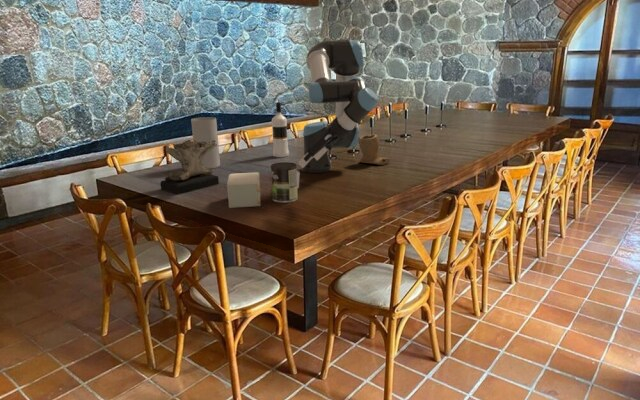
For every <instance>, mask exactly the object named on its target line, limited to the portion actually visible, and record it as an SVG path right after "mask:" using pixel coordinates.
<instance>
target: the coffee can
mask: <svg viewBox="0 0 640 400" xmlns="http://www.w3.org/2000/svg"><path fill="white" fill-rule="evenodd" d="M297 166H298V165H297V163H294V162H287V161H284V162H276V163H275V162H274V163H272V164H271V165H270V169H271V170H270V173H271V190H272V191H271V193H272V194H271V195H272V202H273V201H274V202H275V203H282V204H283V203H293V202H295V201H298V198H299V197H298V188H297V171H298V170H297Z"/></svg>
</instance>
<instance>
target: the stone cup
mask: <svg viewBox="0 0 640 400" xmlns="http://www.w3.org/2000/svg"><path fill="white" fill-rule="evenodd" d="M358 145H359V149H360V151H361V153H362V158H360V159H359V160H358V162H359V163H364V164H371V165H379V166H380V165H383V166H384V165H386V164H388V163H390V161H391V158H389V157H384V156H380V155H379V148H380V147H379V146H380V139H379V136H378V135H377V134H366V135H365V134H364V135H363V136H360V137H359V138H358Z"/></svg>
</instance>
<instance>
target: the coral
mask: <svg viewBox="0 0 640 400" xmlns="http://www.w3.org/2000/svg"><path fill="white" fill-rule="evenodd" d="M183 144H184V146H186V148H185V149H184V147H183ZM216 146H217V144H216V141H215V140H213V141H212V142H211V143H210V142H208V143H207V142H204V141H202V142H197V141H196V140H194V142H193V141H191V139H188V140H185V141H183V142H182V144H179V143H178V144H175V145H173V146H172V147H173V148H172V147H169V146H166V148H165V152H166V153H167V154H168V155H170V156H171V157H172V158H173V159H175V160H176V161H178V162H179V163H180V165H181V170H180V171H177V172H176V171H172V172H169V173H167V175H166V177H165V178H164V180H161V181H160V190H161V191H164V192H168V193H172V194H175V195H178V196H179V195H182V194H186V193H191V192H194V191H197V190H201V189H202V190H203V189H204V188H205V189H206V188H209V187H214V186H217V185H219V183H220V182H219V181H220V180H219V176H218V175H215V174H213V172H214V171H213V169H211V168H206V167H205V166H204V165H201V161H202V158H203V157H204V156H205V154H206V153H207V152H209V151H210V150H211V149H213V148H214V147H216Z"/></svg>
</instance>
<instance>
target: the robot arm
mask: <svg viewBox="0 0 640 400" xmlns="http://www.w3.org/2000/svg"><path fill="white" fill-rule="evenodd" d="M362 48H363V47H362V43H361V42H360V40H358V39H357V40H355V39H353V40H352V39H347V40H345V39H344V40H323V41H320V42H318V43H317V44H315V45H314V46H312V47H311V48H310V50H308V52H307V55H306V65H307V68H308V69H309V71H310V77H311V82H310V83H308V101H309V102H310V103H311V104H328V103H331V104H333V103H335V113H334V114H335V115H334V116H335V118H333V120H332V121H331V122H330V123H329V124H328V122H327V121H324V120H323V121H316V122H311V123H308V124H306V125H304V127H303V134H302V135H303V157H302V158H301V159H300V160H299V161H298V162H297V164H298V165H299V166H300V167H301V168H300V169H301V172H302V173H303V172H304V173H308V174H321V173H328V172H330V171H332V169H333V168H332V162H331V159H330V157H329V153H328V151H330V150H332V149H345V148H346V149H349V148H355V147H356V146H357V145H358V143H359V138H360V137H359V136H360V127H359V124H360V123H361V122H362V121H363V119H365V118H366V117H367V116H368V115H369V114H370V112H371V111H373V110H374V109H375V107H376V106H377V105H378V103H379V101H380V100H379V96H377V93H376V92H375V91H374V90H372V89H371V88H370V87H368V85H367V82H366V81H365V80H364V78H363V77H361V76H358V74H359V73H360V69H362V68H363V67H364V52H363V49H362ZM330 69H333V70H332V71H333V73H334V75H336V78H335V79H336V80H335V81H332V76H331V72H330ZM356 75H357V76H356Z"/></svg>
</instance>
